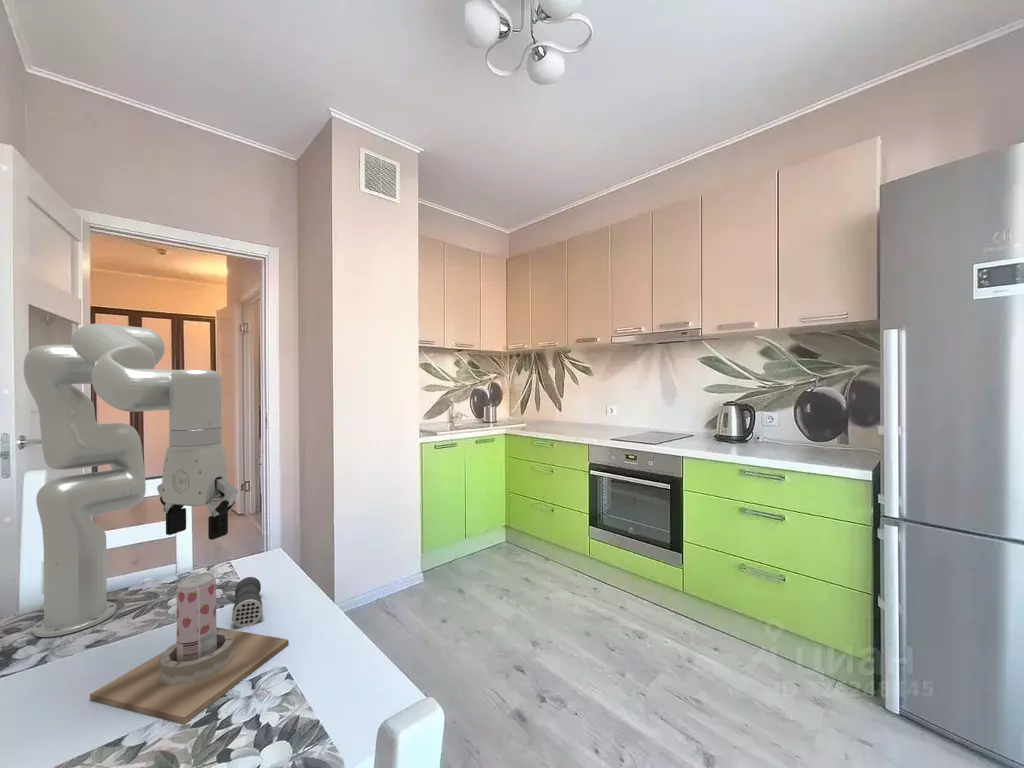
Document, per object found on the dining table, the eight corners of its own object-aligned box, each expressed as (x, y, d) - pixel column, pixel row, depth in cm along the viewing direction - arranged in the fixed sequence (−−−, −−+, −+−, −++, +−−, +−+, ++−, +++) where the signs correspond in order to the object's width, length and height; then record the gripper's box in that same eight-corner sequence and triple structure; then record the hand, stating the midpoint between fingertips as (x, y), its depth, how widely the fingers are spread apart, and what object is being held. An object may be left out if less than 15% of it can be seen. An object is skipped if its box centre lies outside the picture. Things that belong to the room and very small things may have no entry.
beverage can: (209, 650, 79) (208, 569, 79) (222, 661, 76) (221, 577, 76) (172, 666, 74) (171, 581, 75) (183, 679, 71) (182, 589, 71)
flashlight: (234, 600, 101) (234, 577, 101) (261, 594, 103) (260, 571, 103) (232, 630, 87) (231, 604, 88) (262, 622, 90) (262, 597, 90)
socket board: (90, 700, 68) (89, 675, 68) (208, 630, 87) (208, 611, 87) (184, 724, 63) (184, 697, 63) (288, 644, 82) (288, 624, 82)
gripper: (137, 440, 74) (137, 538, 74) (214, 442, 70) (215, 546, 69) (181, 435, 81) (181, 524, 81) (253, 437, 77) (253, 531, 77)
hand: (197, 534), depth 75 cm, fingers open, 9 cm apart
